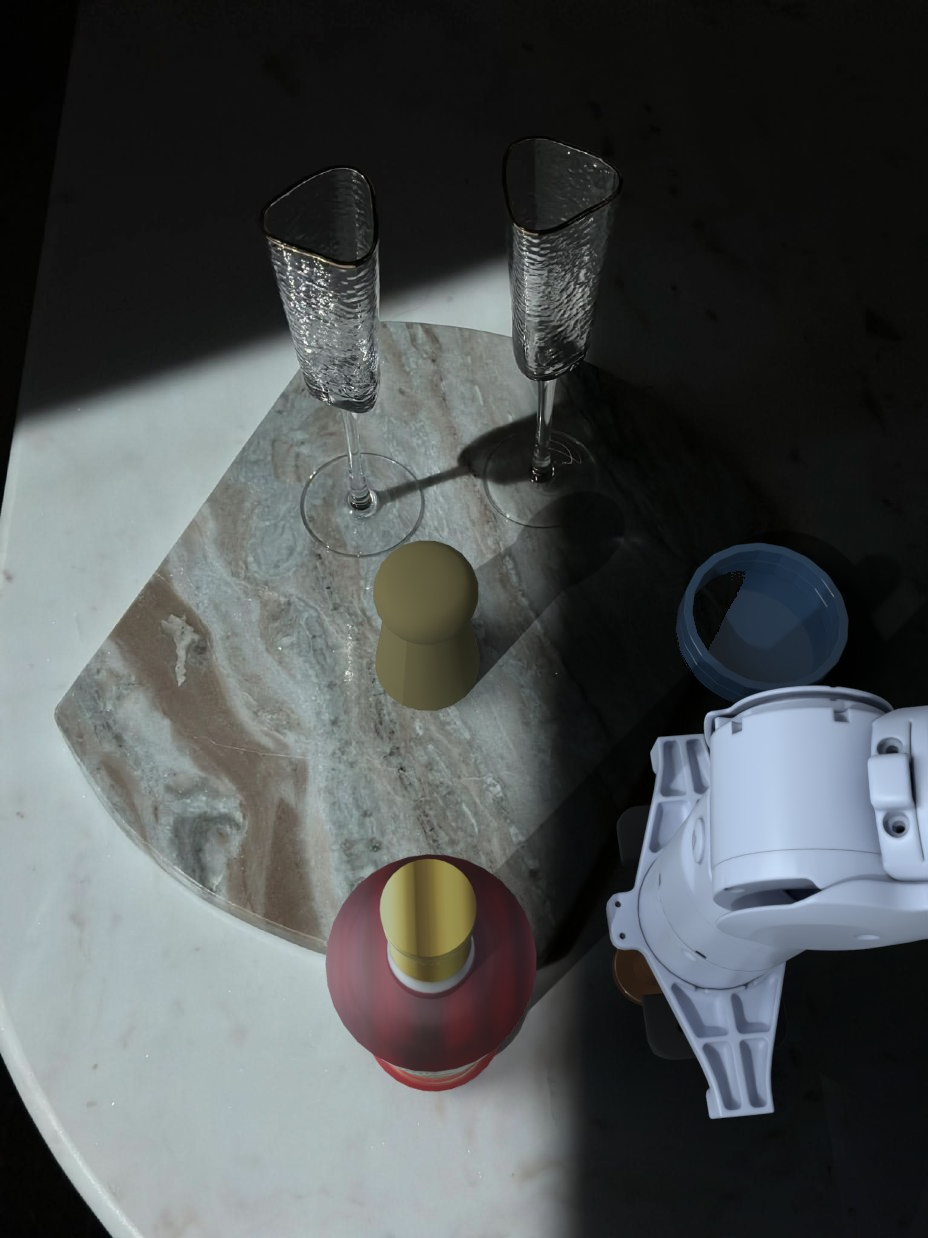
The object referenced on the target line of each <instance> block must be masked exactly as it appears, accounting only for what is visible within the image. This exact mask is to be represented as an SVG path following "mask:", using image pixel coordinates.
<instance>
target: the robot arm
mask: <svg viewBox="0 0 928 1238" xmlns="http://www.w3.org/2000/svg"><path fill="white" fill-rule="evenodd" d="M703 730H704V731H703V732H704V733H694V734H683V735H682V734H681V735H669V736H658V737H657V738H656V740H655V742H654V744H653V746H652V749H651V750H650V753H649V754H650V761H651V766H652V772H653V773H654V774H655V782H654V789H653V793H652V797H651V804H648V805H646V804H645V805H636V806H631V807H629V808H628V809H625V810H624V812H622V813H621V814H620V817H619V818H618V820H617V821H616V822H617V823H616V834H617V842H618V848H619V856H620V861H621V866H622V867H623V868H625V869H627V870H628V871H630V872H631V873H632V874H634V879H635V882H634V886H633V888H632V889H631V890H629V891H624V892H617V893H615V894H612V895H611V897H610V898H609V899H608V900H607V902H606V908H605V911H606V919H607V920H606V921H607V926H608V933H609V934H608V935H609V939H610V942H611V944H612V946H614V947H615V948H616V949H621V950H631V949H633V950H638V951H640V952H641V953H642V954H643V955H644V957H645V958H646V960H647V962H648V964H649V966H650V968H651V970H652V972H653V974H654V976H655V978H656V980H657V982H658V983H659V985H660V987H661V989H662V991H663V993H659V994H648V995H642V996H641V1000H642V1006H641V1007H642V1013H643V1019H644V1027H645V1035H646V1039H647V1043H648V1045H649V1048H650V1050H651V1051H652V1053H653V1055H655V1056H657V1057H659V1058H662V1059H664V1060H665V1059H666V1060H671V1061H677V1060H686V1059H687V1060H688V1059H697V1061H698V1062H699V1064H700V1068H701V1069H702V1071H703V1074H704V1076H705V1078H706V1081H707V1083H708V1086H709V1088H708V1089H707V1090H706V1094H705V1098H706V1102H707V1103H706V1104H707V1110H708V1116H709V1118H710V1119H711V1120H715V1119H722V1118H735V1117H737V1118H738V1117H745V1116H756V1115H764V1114H773V1113H774V1112H775V1105H774V1098H773V1092H772V1065H773V1053H774V1051H775V1050H776V1049H778V1048H779V1047H781V1046H782V1044H783V1043H784V1042H785V1041H786V1039H787V1037H788V1032H789V1020H788V1015H787V1010H786V1005H785V999H784V995H783V984H784V978H785V971H786V965H787V961H789V960H790V959H793V958H794V957H796V956H797V955H799V954H801V953H803V952H805V951H807V950H808V951H809V950H811V951H855V950H865V949H866V950H869V949H874V948H881V947H888V946H893V945H894V946H895V945H900V944H907V943H913V942H917V941H921V940H928V705H919V706H910V707H909V706H908V707H902V708H897V709H894V708H893V706H892V705H891V703H889V702H888V701H887V700H885V699H884V698H882V697H881V696H878V695H876V694H873V693H870V692H868V691H865V690H864V691H863V690H860V689H855V688H850V687H842V686H835V687H831V686H830V685H818V686H797V687H786V688H780V689H774V690H769V691H765V692H761V693H757V694H754V695H751V696H749V697H746V698H744V699H742V700H740V701H738V702H737V703H734V704H733V705H731V706H730V707H728V708H724V709H718V710H717V709H716V710H711V711H709V712H707V713H706V714H705V717H704V721H703ZM616 905H617V906H616ZM621 937H622V938H621Z"/></svg>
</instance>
